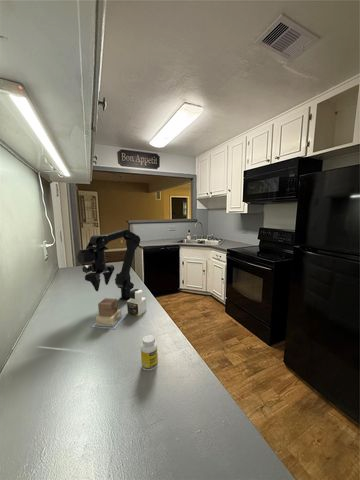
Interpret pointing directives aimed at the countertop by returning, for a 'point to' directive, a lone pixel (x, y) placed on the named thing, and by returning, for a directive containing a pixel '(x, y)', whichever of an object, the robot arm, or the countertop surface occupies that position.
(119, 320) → the blueprint board
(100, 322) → the maple slab
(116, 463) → the countertop surface
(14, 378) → the countertop surface
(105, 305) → the walnut cube
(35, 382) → the countertop surface
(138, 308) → the medicine bottle
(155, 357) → the supplement bottle
